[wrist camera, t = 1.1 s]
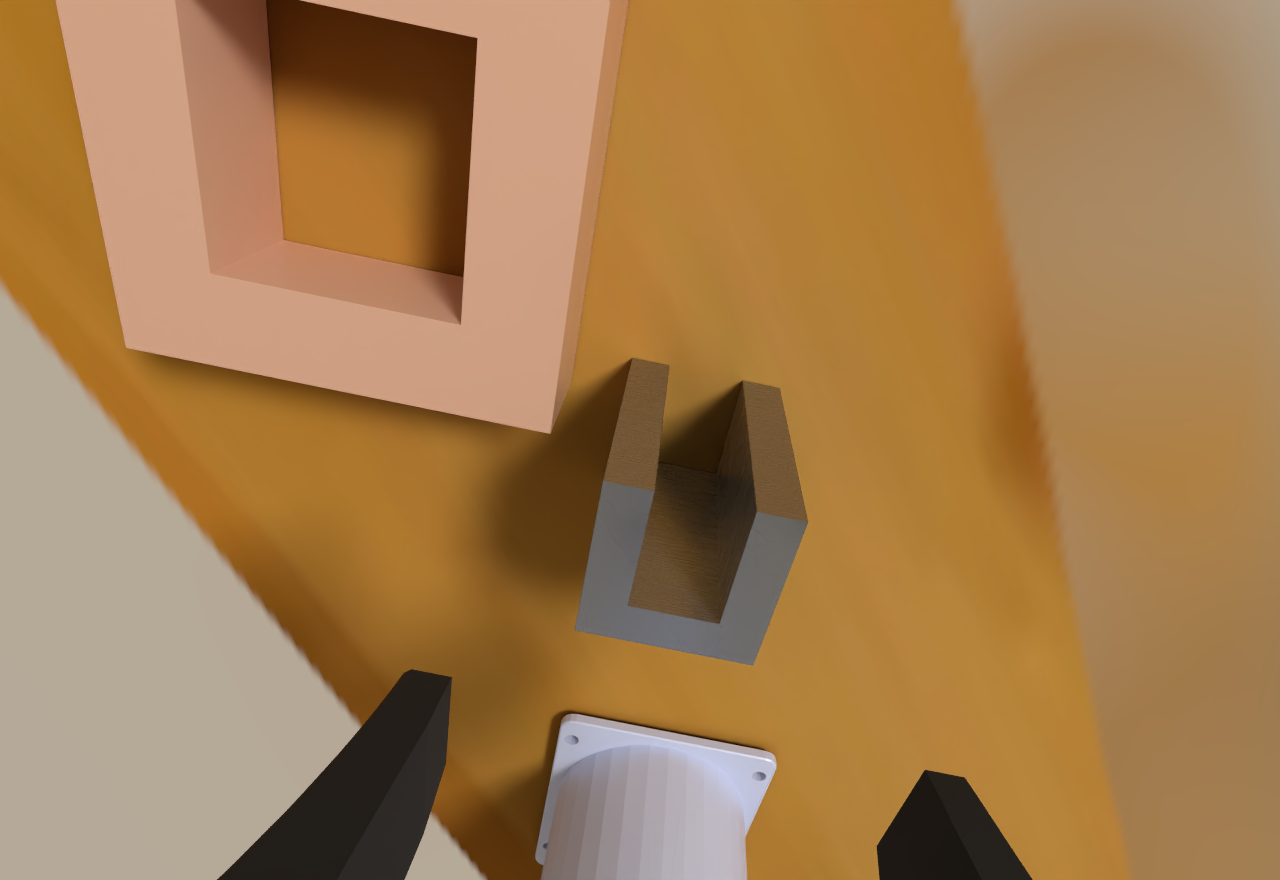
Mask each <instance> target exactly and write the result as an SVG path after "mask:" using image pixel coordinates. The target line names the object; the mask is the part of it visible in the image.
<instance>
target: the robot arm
mask: <svg viewBox="0 0 1280 880" xmlns="http://www.w3.org/2000/svg"><path fill="white" fill-rule="evenodd" d="M451 682H452V677H448V676H443V675H437V674H432V673H427V672H422V671H417V670H412V669H411V670H409V671H407V672H405V673H404V674H403V675H402V676H401V678H400V679H399V680H398V682H397V683H396V684H395V686H394V687H393V688H392V690H391V691H390V692H389V694H388V695H387V696H386V698H385V699H384V700H383V701H382V703H381V704H380V705H379V706H378V708H377V709H376V710H375V711H374V713H373V714H372V715H371V716H370V718H369V719H368V720H367V721H366V722H365V724H364V725H363V726H362V727H361V728H360V730H359V731H358V732H357V733H356V734H355V736H354V737H353V738H352V739H351V740H350V742H348V744H347V745H346V746H345V747H344V748H343V749H342V751H341V752H340V753H339V754H338V755H337V756H336V757H335V759H334V760H333V761H332V762H331V763H330V764H329V765H328V766H327V767H326V768H325V770H324V771H323V772H322V773H321V774H320V775H319V776H318V777H317V779H315V780H314V782H313V783H312V784H311V785H310V786H309V787H308V788H307V789H306V790H305V792H304V793H303V794H302V795H301V796H300V797H299V798H298V799H297V800H296V801H295V802H294V803H293V804H292V806H291V807H290V808H289V809H288V810H287V811H286V812H285V813H284V814H283V815H282V816H281V817H280V818H279V819H278V820H277V821H276V822H275V823H274V824H273V825H272V826H271V827H270V828H269V829H268V830H267V831H266V832H265V833H264V834H263V835H262V836H261V837H260V838H259V839H258V840H257V841H256V842H255V843H254V844H253V845H252V846H251V847H250V848H249V849H248V850H247V851H246V852H245V853H244V854H243V855H242V856H241V857H240V858H239V859H238V860H237V861H236V862H235V863H234V864H233V865H232V866H231V867H230V868H229V869H228V870H227V871H226V872H225V873H224V874H223V875H222V876H221V877H219V879H217V880H404V879H405V877H406V874H407V872H408V870H409V867H410V865H411V862H412V860H413V858H414V855H415V853H416V850H417V848H418V846H419V843H420V841H421V839H422V836H423V833H424V830H425V827H426V824H427V821H428V818H429V815H430V812H431V809H432V806H433V803H434V799H435V796H436V793H437V790H438V787H439V783H440V780H441V777H442V774H443V771H444V767H445V764H446V753H447V739H448V725H449V710H450V696H451ZM775 770H776V758H775V756H774V755H773V754H772V753H770V752H768V751H764V750H759V749H754V748H749V747H744V746H739V745H734V744H729V743H723V742H718V741H713V740H708V739H703V738H698V737H693V736H688V735H682V734H677V733H672V732H667V731H662V730H657V729H652V728H647V727H642V726H636V725H631V724H626V723H621V722H616V721H611V720H606V719H601V718H595V717H590V716H585V715H580V714H568V715H566V716H564V717H563V719H562V721H561V726H560V731H559V736H558V741H557V746H556V751H555V756H554V762H553V767H552V772H551V777H550V782H549V787H548V792H547V798H546V803H545V808H544V813H543V818H542V823H541V828H540V834H539V839H538V844H537V849H536V854H535V859H536V861H537V862H538V863H539V864H541V865H544V866H543V871H542V876H541V880H747V867H746V846H745V836H746V834H747V832H748V830H749V827H750V825H751V823H752V821H753V819H754V816H755V814H756V812H757V810H758V808H759V806H760V803H761V801H762V799H763V797H764V795H765V792H766V790H767V788H768V786H769V784H770V781H771V779H772V777H773V775H774V773H775ZM877 855H878V866H879V877H880V880H1032V878H1031V877H1030V875H1029V874H1028V872H1027V871H1026V869H1025V868H1024V866H1023V865H1022V863H1021V862H1020V860H1019V859H1018V857H1017V856H1016V854H1015V853H1014V851H1013V850H1012V848H1011V847H1010V845H1009V844H1008V842H1007V841H1006V839H1005V838H1004V836H1003V835H1002V833H1001V832H1000V830H999V828H998V827H997V825H996V824H995V822H994V821H993V819H992V818H991V816H990V815H989V813H988V812H987V810H986V809H985V807H984V806H983V804H982V803H981V801H980V800H979V798H978V797H977V795H976V794H975V792H974V791H973V789H972V788H971V786H970V785H969V783H968V782H967V780H966V779H965V778H964V777H959V776H954V775H949V774H944V773H939V772H933V771H928V770H925V771H924V772H923V774H922V775H921V777H920V779H919V780H918V782H917V783H916V785H915V787H914V788H913V790H912V791H911V793H910V794H909V796H908V798H907V799H906V801H905V802H904V804H903V806H902V807H901V809H900V810H899V812H898V813H897V815H896V817H895V818H894V820H893V821H892V823H891V825H890V826H889V828H888V829H887V831H886V832H885V834H884V836H883V837H882V839H881V840H880V842H879V844H878V845H877Z"/></svg>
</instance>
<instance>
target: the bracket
mask: <svg viewBox="0 0 1280 880" xmlns="http://www.w3.org/2000/svg"><path fill="white" fill-rule="evenodd" d="M668 373H669V365H664V364H659V363H654V362H649V361H644V360H639V359H635V358H632V362H631V366H630V370H629V374H628V379H627V383H626V387H625V391H624V395H623V400H622V404H621V408H620V412H619V416H618V421H617V425H616V429H615V433H614V437H613V442H612V446H611V450H610V454H609V458H608V463H607V467H606V471H605V475H604V479H603V484H602V489H601V495H600V500H599V505H598V510H597V516H596V521H595V526H594V531H593V537H592V542H591V547H590V552H589V558H588V563H587V568H586V574H585V579H584V584H583V589H582V595H581V600H580V605H579V610H578V616H577V621H576V626H575V630H576V631H581V632H586V633H591V634H596V635H601V636H606V637H611V638H616V639H621V640H626V641H632V642H637V643H642V644H647V645H652V646H657V647H662V648H667V649H672V650H677V651H682V652H687V653H692V654H697V655H702V656H707V657H712V658H717V659H722V660H727V661H733V662H738V663H743V664H748V665H754V662H755V659H756V657H757V654H758V651H759V649H760V646H761V644H762V641H763V638H764V636H765V633H766V631H767V628H768V625H769V623H770V620H771V618H772V615H773V612H774V610H775V607H776V604H777V602H778V599H779V597H780V594H781V591H782V589H783V586H784V584H785V581H786V578H787V576H788V573H789V571H790V568H791V565H792V563H793V560H794V558H795V555H796V552H797V550H798V547H799V544H800V542H801V539H802V537H803V534H804V531H805V529H806V526H807V524H808V520H807V515H806V510H805V505H804V501H803V496H802V491H801V487H800V482H799V477H798V472H797V468H796V463H795V458H794V454H793V449H792V444H791V439H790V435H789V430H788V425H787V421H786V416H785V411H784V406H783V402H782V397H781V392H780V388H775V387H771V386H766V385H761V384H756V383H751V382H746V381H743V382H742V386H741V389H740V393H739V396H738V400H737V403H736V407H735V410H734V414H733V417H732V421H731V424H730V428H729V431H728V435H727V438H726V442H725V445H724V449H723V452H722V455H721V459H720V462H719V466H718V469H717V473H716V474H715V473H710V472H705V471H700V470H695V469H691V468H686V467H681V466H676V465H671V464H666V463H661V462H658V458H659V449H660V441H661V432H662V424H663V415H664V407H665V398H666V390H667V381H668Z"/></svg>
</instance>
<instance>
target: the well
mask: <svg viewBox="0 0 1280 880" xmlns="http://www.w3.org/2000/svg"><path fill="white" fill-rule="evenodd" d="M301 1H306V2H311V3H315V4H320V5H325V6H329V7H334V8H339V9H344V10H348V11H353V12H358V13H362V14H367V15H372V16H376V17H381V18H386V19H390V20H395V21H400V22H404V23H409V24H414V25H418V26H423V27H428V28H432V29H437V30H442V31H446V32H451V33H456V34H461V35H465V36H470V37H475V38H478V40H477V57H476V75H475V92H474V109H473V126H472V143H471V161H470V178H469V195H468V212H467V229H466V246H465V264H464V277H460V276H455V275H450V274H445V273H441V272H436V271H431V270H426V269H421V268H416V267H412V266H407V265H402V264H397V263H392V262H387V261H383V260H378V259H373V258H368V257H363V256H358V255H354V254H349V253H344V252H339V251H334V250H329V249H325V248H320V247H315V246H310V245H305V244H300V243H296V242H291V241H286V240H283V226H282V212H281V199H280V185H279V172H278V158H277V144H276V131H275V117H274V104H273V90H272V76H271V63H270V49H269V35H268V22H267V8H266V0H56V4H57V9H58V14H59V19H60V24H61V29H62V34H63V39H64V44H65V48H66V53H67V58H68V63H69V68H70V73H71V78H72V83H73V88H74V93H75V98H76V103H77V108H78V113H79V118H80V122H81V127H82V132H83V137H84V142H85V147H86V152H87V157H88V162H89V167H90V172H91V177H92V182H93V187H94V192H95V196H96V201H97V206H98V211H99V216H100V221H101V226H102V231H103V236H104V241H105V246H106V251H107V256H108V261H109V266H110V270H111V275H112V280H113V285H114V290H115V295H116V300H117V305H118V310H119V315H120V320H121V325H122V330H123V335H124V339H125V344H126V348H130V349H135V350H140V351H145V352H150V353H155V354H160V355H164V356H169V357H174V358H179V359H184V360H189V361H194V362H199V363H204V364H209V365H214V366H219V367H224V368H229V369H233V370H238V371H243V372H248V373H253V374H258V375H263V376H268V377H273V378H278V379H283V380H288V381H293V382H297V383H302V384H307V385H312V386H317V387H322V388H327V389H332V390H337V391H342V392H347V393H352V394H357V395H361V396H366V397H371V398H376V399H381V400H386V401H391V402H396V403H401V404H406V405H411V406H416V407H421V408H426V409H430V410H435V411H440V412H445V413H450V414H455V415H460V416H465V417H470V418H475V419H480V420H485V421H490V422H494V423H499V424H504V425H509V426H514V427H519V428H524V429H529V430H534V431H539V432H544V433H549V434H550V433H551V431H552V428H553V426H554V423H555V421H556V418H557V416H558V413H559V411H560V408H561V406H562V403H563V401H564V399H565V396H566V394H567V391H568V389H569V386H570V384H571V381H572V376H573V369H574V362H575V356H576V349H577V342H578V336H579V329H580V322H581V316H582V309H583V302H584V296H585V289H586V282H587V275H588V269H589V262H590V255H591V249H592V242H593V235H594V229H595V222H596V215H597V209H598V202H599V195H600V189H601V182H602V175H603V169H604V162H605V155H606V149H607V142H608V135H609V129H610V122H611V115H612V109H613V102H614V95H615V89H616V82H617V75H618V68H619V62H620V55H621V48H622V42H623V35H624V28H625V22H626V15H627V8H628V2H629V0H301Z"/></svg>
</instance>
